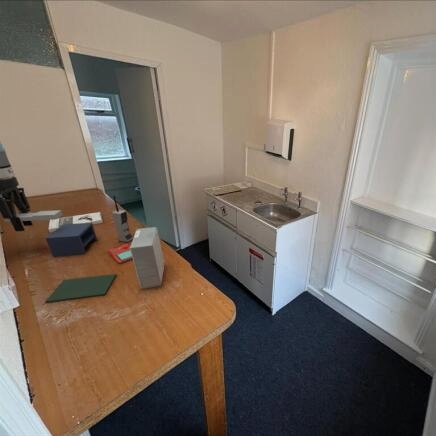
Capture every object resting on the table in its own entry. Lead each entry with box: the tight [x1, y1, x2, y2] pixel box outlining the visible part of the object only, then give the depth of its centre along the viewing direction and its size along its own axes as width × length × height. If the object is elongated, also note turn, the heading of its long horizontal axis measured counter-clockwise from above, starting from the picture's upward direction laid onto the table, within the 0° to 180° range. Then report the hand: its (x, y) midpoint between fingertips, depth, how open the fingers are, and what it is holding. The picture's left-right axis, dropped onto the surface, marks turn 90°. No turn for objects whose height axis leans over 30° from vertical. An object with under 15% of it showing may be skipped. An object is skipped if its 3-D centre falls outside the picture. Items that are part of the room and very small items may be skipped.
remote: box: [2, 209, 64, 223], centre depth 104 cm, size 18×5×2 cm, turn 107°
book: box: [47, 211, 104, 233], centre depth 136 cm, size 23×14×2 cm, turn 130°
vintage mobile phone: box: [111, 195, 134, 243], centre depth 119 cm, size 4×5×25 cm
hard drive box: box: [130, 226, 166, 290], centre depth 96 cm, size 16×8×20 cm, turn 22°
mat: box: [44, 273, 118, 304], centre depth 91 cm, size 18×12×1 cm, turn 107°
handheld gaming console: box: [107, 242, 133, 265], centre depth 112 cm, size 9×1×15 cm
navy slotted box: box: [45, 223, 98, 258], centre depth 112 cm, size 12×14×10 cm
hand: (24, 227), depth 105 cm, fingers closed on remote, 5 cm apart
